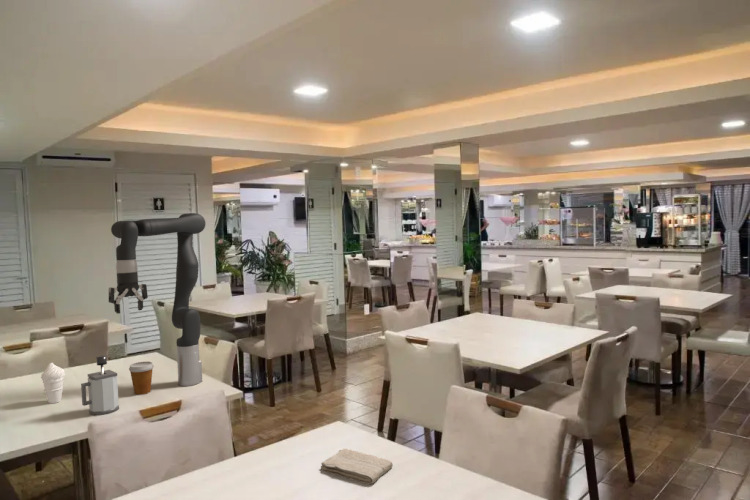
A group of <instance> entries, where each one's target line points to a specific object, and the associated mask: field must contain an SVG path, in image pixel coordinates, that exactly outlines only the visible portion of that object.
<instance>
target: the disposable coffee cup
mask: <svg viewBox="0 0 750 500" xmlns="http://www.w3.org/2000/svg"><path fill="white" fill-rule="evenodd" d="M153 368H154V364H153V362H151V361H138V362H134V363H131V364H130V365H129V368H128V370H129V372H130V378H131V381H132V386H133V388H132V389H133V393H134V395H137V396H140V395H142V396H143V395H146V394H149V393H151V391H152V378H153Z"/></svg>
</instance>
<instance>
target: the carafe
mask: <svg viewBox="0 0 750 500" xmlns="http://www.w3.org/2000/svg"><path fill="white" fill-rule="evenodd" d="M118 383H119V382H118V372H116V371H113V370H111V369H106V370H104V374H103V375H101V371H96V372H92V373H87V382H83V383H80V387H81V389H80V390H81V403H82V406H84V407H85V406H87V405H88V407H89V408H88V409H89V414H90V415H92V416H102V415H108V414H113V413H115V412H117V411H118V410H119V409H120V407H119V406H120V404H119V387H118V385H119V384H118ZM87 390H88V391H87ZM87 392H88V400H87Z"/></svg>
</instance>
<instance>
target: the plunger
mask: <svg viewBox="0 0 750 500" xmlns="http://www.w3.org/2000/svg"><path fill="white" fill-rule="evenodd" d="M107 364H108V360H107V354H106V355H105V354H104V355H103V354H102V355H101V354H100V355H98V356H96V366H100V372H101V375H103V374H104V371H105V370H104V365H107Z"/></svg>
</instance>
